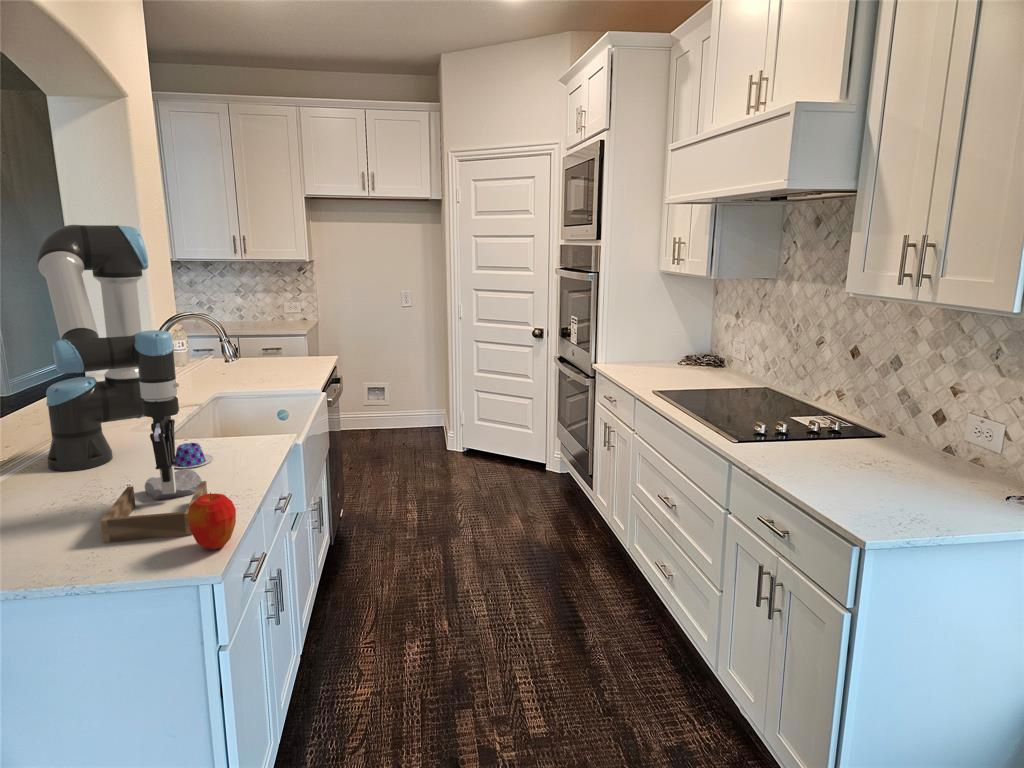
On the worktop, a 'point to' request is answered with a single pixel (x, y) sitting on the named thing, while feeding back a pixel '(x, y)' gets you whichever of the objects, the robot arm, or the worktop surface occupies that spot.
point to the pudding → (191, 456)
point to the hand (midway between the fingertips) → (169, 492)
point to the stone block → (184, 483)
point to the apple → (212, 520)
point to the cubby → (144, 520)
